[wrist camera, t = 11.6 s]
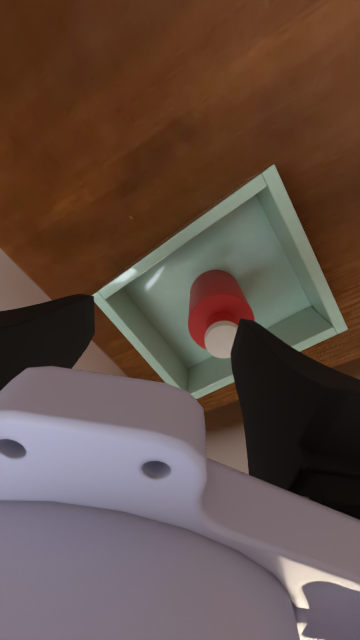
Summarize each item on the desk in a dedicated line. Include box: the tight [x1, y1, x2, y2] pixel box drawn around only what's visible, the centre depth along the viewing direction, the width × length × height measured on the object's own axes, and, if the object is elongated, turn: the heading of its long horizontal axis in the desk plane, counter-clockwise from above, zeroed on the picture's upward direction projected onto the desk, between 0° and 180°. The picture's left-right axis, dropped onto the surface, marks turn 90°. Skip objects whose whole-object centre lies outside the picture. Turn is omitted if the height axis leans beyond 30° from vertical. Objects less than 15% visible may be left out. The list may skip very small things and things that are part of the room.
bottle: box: [188, 270, 255, 358], centre depth 18 cm, size 4×4×8 cm
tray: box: [92, 165, 348, 399], centre depth 20 cm, size 15×13×4 cm
